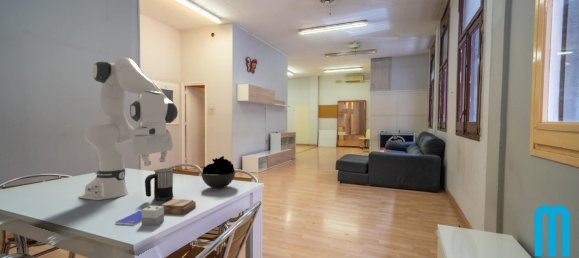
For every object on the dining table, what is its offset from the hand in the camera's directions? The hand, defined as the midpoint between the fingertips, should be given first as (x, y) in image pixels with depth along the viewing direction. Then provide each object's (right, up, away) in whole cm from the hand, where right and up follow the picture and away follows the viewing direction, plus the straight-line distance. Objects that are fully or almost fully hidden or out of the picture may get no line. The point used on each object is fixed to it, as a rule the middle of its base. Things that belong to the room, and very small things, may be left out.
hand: (155, 163), depth 103 cm
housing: (0, -23, -2) cm, 23 cm away
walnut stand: (+4, -23, +12) cm, 26 cm away
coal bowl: (+12, -22, +51) cm, 56 cm away
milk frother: (-9, -23, +27) cm, 36 cm away
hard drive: (-9, -24, +2) cm, 26 cm away
